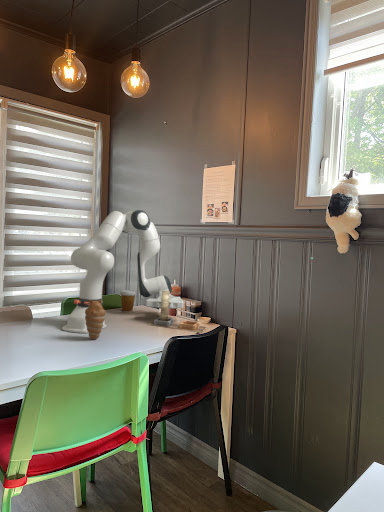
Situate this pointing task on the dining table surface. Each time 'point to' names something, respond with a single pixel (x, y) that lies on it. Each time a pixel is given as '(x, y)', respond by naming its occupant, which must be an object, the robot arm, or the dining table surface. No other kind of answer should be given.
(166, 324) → the rail board
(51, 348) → the dining table surface
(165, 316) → the peg
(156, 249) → the robot arm
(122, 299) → the disposable coffee cup
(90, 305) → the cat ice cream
